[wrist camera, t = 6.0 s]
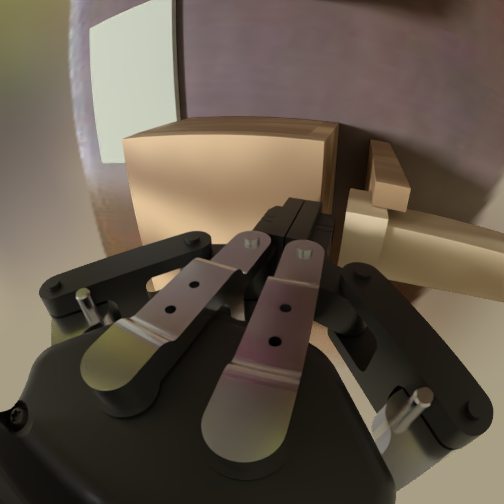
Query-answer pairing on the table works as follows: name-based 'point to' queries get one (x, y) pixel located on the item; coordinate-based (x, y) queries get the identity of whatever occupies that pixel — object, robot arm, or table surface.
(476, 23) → the table surface
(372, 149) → the open wooden box
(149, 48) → the mat
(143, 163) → the lid
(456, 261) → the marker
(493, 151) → the table surface
